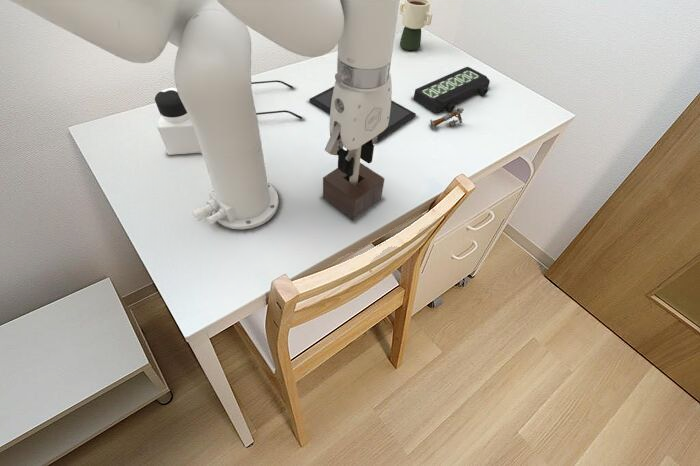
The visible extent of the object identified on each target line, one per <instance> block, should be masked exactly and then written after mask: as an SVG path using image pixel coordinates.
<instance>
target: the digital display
mask: <svg viewBox="0 0 700 466" xmlns="http://www.w3.org/2000/svg"><path fill="white" fill-rule="evenodd" d="M490 82H491V81H490V78H489V77H488V76H487V75H486V74H483V73H481V72H479V71H477V70H476V69H474V68H472V67H470V66H465V67H463V68H460V69H458V70H456V71H454V72H451V73H449V74H447V75H444V76H441V77H440V78H438V79H435V80H433V81H431V82H429V83H426V84H424V85H422V86H420V87H417V88H415V89H414V94H413V101H415V102H416V103H418V104H419V105H421V106H423V107H425V108H426V109H428V110H429V111H431V112H433V113H434V114H439V113H441V112H444V111H446V112H447V113H452V112H454V111H455V110H456V109H455V108H456V105H457V104H459V103H461V102H463V101H466V100H468V99H469V98H472V97H473V96H475V95H477V94H478V95H480V96H482V97H484V96H486V95H487V93H488V91H489V89H488V88H489V85H490Z"/></svg>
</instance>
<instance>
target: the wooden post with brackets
mask: <svg viewBox="0 0 700 466" xmlns="http://www.w3.org/2000/svg"><path fill="white" fill-rule="evenodd" d="M464 110H465V108H463V107H458V108H456V109H454V110H453V111H452V112H448V113H447V114H445V115H442V117H439V118H437V119H434V120H432V119H430V120H429V122H430V125H431V127H432V129H433V130H436V127H437V126H439V125H441V124H443V123H444V122H447V121H449V120H451V119H452V120H451V121H449V122H448V123H447V126H448V127H453V126H456V125H457V124H456V123H458V122H459V124H462V123H463V118H462V114H463V111H464ZM454 117H455V118H457V119H453V118H454Z"/></svg>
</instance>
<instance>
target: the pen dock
mask: <svg viewBox="0 0 700 466" xmlns="http://www.w3.org/2000/svg"><path fill="white" fill-rule="evenodd" d="M349 180H350V177H349V176H348V175H346V174H345V173H343V172H342V171H340V170H339V169H338V167H337V168H335V169H333V170H332V171H331V172H329V173H328V174H326V175H324V176H323V177H322V199H324V200H325V201H327V202H328V203H329V204H330V205H332V206H333V207H335V208H336V209H337V210H338V211H339V212H341V213H343V214H344V215H345V216H347V217H348V218H349V219H350V220H352V221H355V220H356V219H357V218H359V217H360V216H361V215H362V214H364V213H365V212H367V211H368V210H369V209H370V208H372V206H374V205H375V204H376V203H378V202H379V201H380V200H382V197H383V196H382V195H383V190H384V184H385V178H384V177H383V176H382V175H380V174H378V173H376V172H375V171H373V170H372V169H371V168H369V167H368V166H366V165H365V164H364V163H362V162H360V165H359V175H358V183H357V184H356V185H355V186H354V185H353V184H351V183H350V182H349Z"/></svg>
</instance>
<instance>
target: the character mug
mask: <svg viewBox="0 0 700 466" xmlns="http://www.w3.org/2000/svg"><path fill="white" fill-rule="evenodd" d="M430 5H431V1H430V0H404V1H400V3H399V10H398V13H399V15H402V17H401V24H402V25H403V26H404V27H403V30H402V32H401V37H400V40H399V46H400V47H401V48H402V49H404V50H408V51H414V50H417V49H420V48H421V43H422V29H423V28H424V27H425V26H428V27H429V26H430V25H431V23H432V19H433V13H431V12H430V8H431V7H430Z"/></svg>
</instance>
